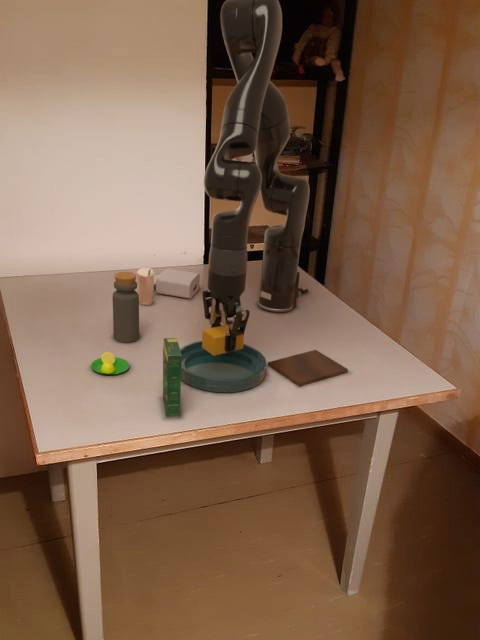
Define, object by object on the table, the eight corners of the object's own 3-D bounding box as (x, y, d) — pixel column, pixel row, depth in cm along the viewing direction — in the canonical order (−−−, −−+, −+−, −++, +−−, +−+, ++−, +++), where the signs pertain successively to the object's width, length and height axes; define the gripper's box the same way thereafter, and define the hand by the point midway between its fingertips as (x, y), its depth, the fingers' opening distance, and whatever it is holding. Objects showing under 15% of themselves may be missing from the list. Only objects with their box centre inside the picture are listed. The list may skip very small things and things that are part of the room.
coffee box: (161, 396, 133) (162, 336, 126) (176, 396, 133) (177, 336, 126) (165, 418, 126) (166, 355, 119) (180, 417, 127) (182, 355, 120)
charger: (148, 280, 187) (199, 288, 185) (135, 291, 179) (189, 300, 177) (148, 264, 184) (200, 272, 182) (135, 274, 177) (190, 283, 174)
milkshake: (140, 308, 170) (140, 270, 165) (134, 300, 174) (134, 263, 169) (158, 306, 172) (158, 269, 166) (151, 299, 176) (152, 261, 170)
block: (230, 340, 145) (232, 323, 142) (243, 348, 142) (244, 331, 139) (201, 347, 141) (202, 329, 139) (213, 356, 138) (214, 338, 136)
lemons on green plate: (85, 363, 142) (85, 351, 141) (121, 356, 146) (120, 345, 145) (99, 379, 137) (98, 367, 135) (135, 372, 141) (135, 360, 139)
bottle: (134, 344, 152) (133, 281, 144) (109, 340, 153) (107, 277, 145) (142, 334, 157) (142, 272, 149) (118, 330, 158) (117, 269, 150)
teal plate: (231, 345, 155) (232, 333, 154) (282, 380, 143) (284, 367, 141) (159, 362, 145) (159, 349, 144) (207, 401, 133) (208, 388, 131)
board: (315, 352, 155) (315, 349, 155) (347, 372, 148) (348, 369, 148) (267, 365, 148) (267, 362, 148) (299, 386, 141) (299, 383, 140)
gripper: (264, 276, 129) (257, 355, 138) (222, 254, 138) (218, 329, 148) (232, 282, 125) (227, 363, 134) (192, 258, 135) (189, 336, 144)
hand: (222, 345), depth 141 cm, fingers closed on block, 4 cm apart
